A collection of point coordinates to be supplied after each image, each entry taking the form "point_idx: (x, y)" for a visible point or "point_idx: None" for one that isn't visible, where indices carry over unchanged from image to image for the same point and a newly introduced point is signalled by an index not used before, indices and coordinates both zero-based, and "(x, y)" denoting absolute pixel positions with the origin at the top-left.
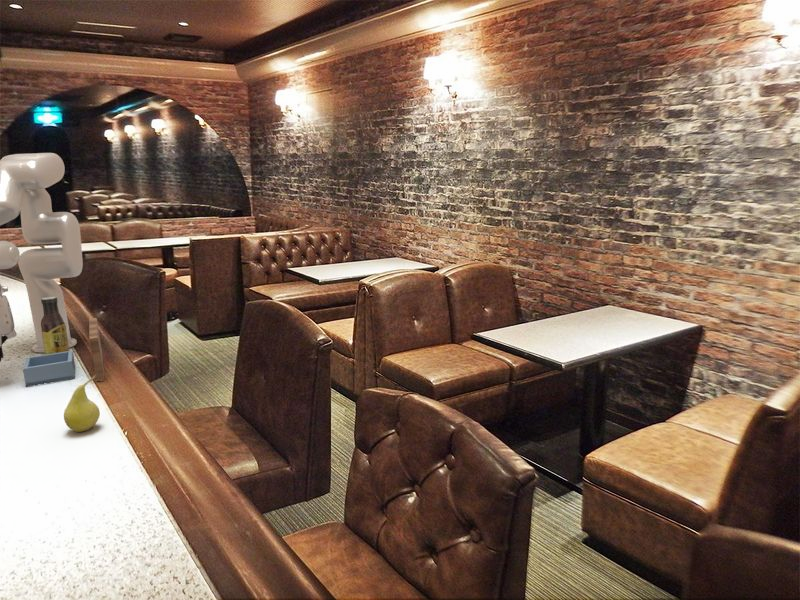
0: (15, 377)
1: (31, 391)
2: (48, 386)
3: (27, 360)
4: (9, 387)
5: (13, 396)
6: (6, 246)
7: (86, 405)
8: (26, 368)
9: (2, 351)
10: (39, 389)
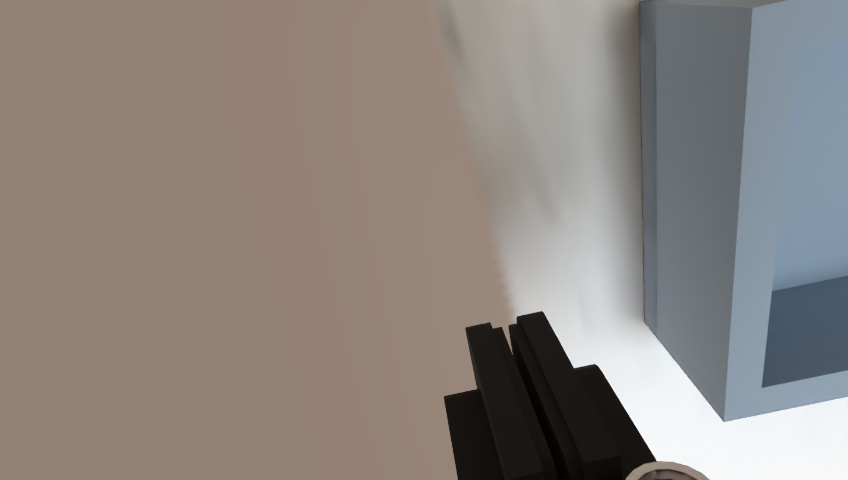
0: (520, 38)
1: (682, 404)
2: None
3: (764, 159)
4: (530, 292)
5: None
6: None
7: None
8: (752, 415)
9: (622, 414)
10: None
